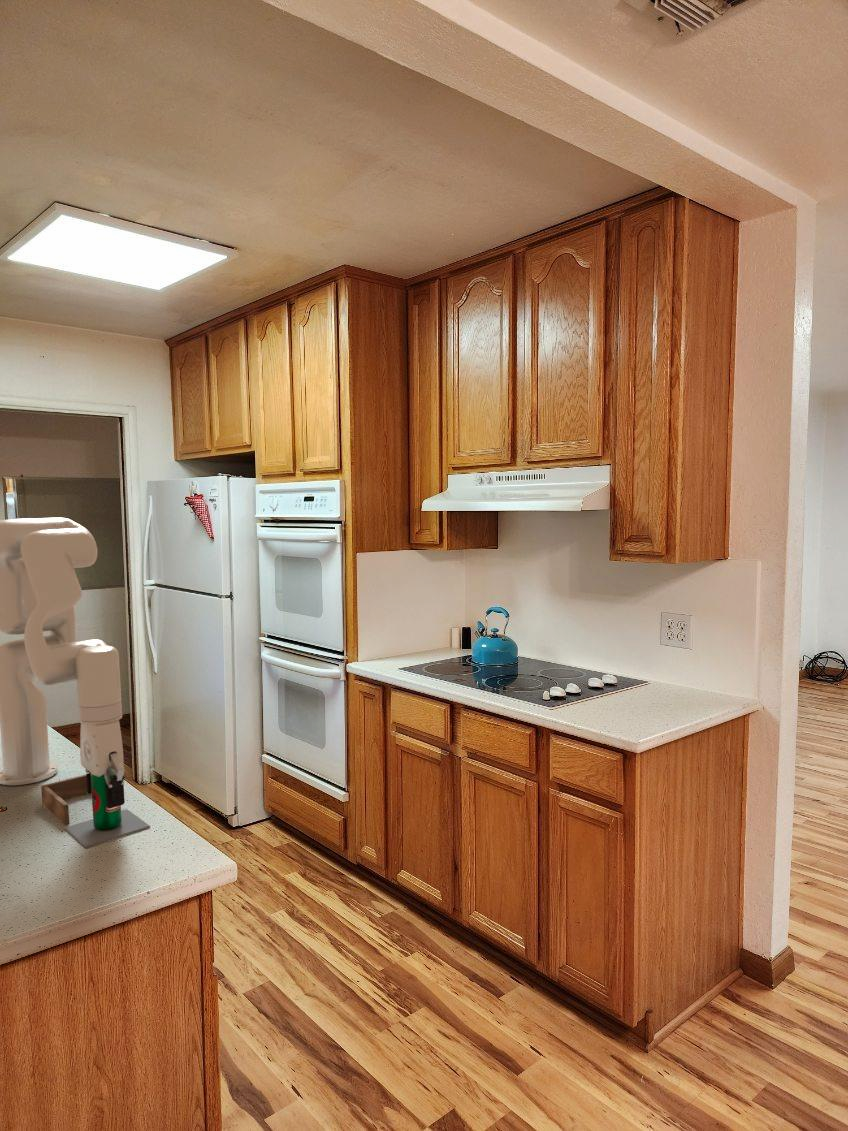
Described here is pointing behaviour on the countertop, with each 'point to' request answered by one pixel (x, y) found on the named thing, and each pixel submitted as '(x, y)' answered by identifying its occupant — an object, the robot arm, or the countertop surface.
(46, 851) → the countertop surface
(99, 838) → the mat
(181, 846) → the countertop surface
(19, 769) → the robot arm
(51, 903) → the countertop surface
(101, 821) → the soda can
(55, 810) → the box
